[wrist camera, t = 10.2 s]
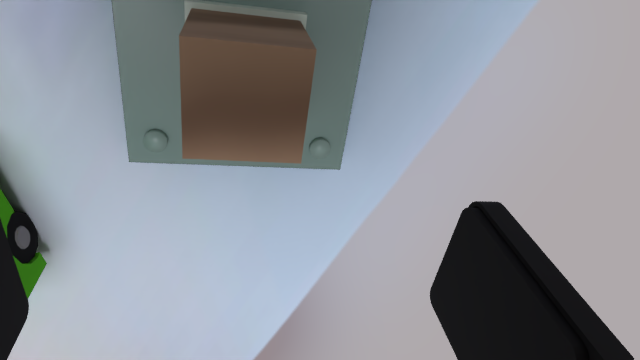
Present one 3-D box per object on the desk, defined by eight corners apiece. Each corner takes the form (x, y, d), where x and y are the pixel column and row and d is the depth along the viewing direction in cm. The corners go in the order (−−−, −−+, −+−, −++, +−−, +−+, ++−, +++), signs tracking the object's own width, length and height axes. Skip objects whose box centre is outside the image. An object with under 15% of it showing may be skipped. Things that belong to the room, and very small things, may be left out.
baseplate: (108, -95, 18) (97, -95, 17) (374, -55, 21) (385, -52, 19) (133, 151, 24) (126, 167, 23) (336, 159, 27) (342, 174, 25)
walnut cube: (191, 7, 19) (179, 35, 15) (300, 20, 20) (316, 49, 16) (192, 110, 22) (182, 158, 18) (289, 117, 23) (301, 163, 19)
